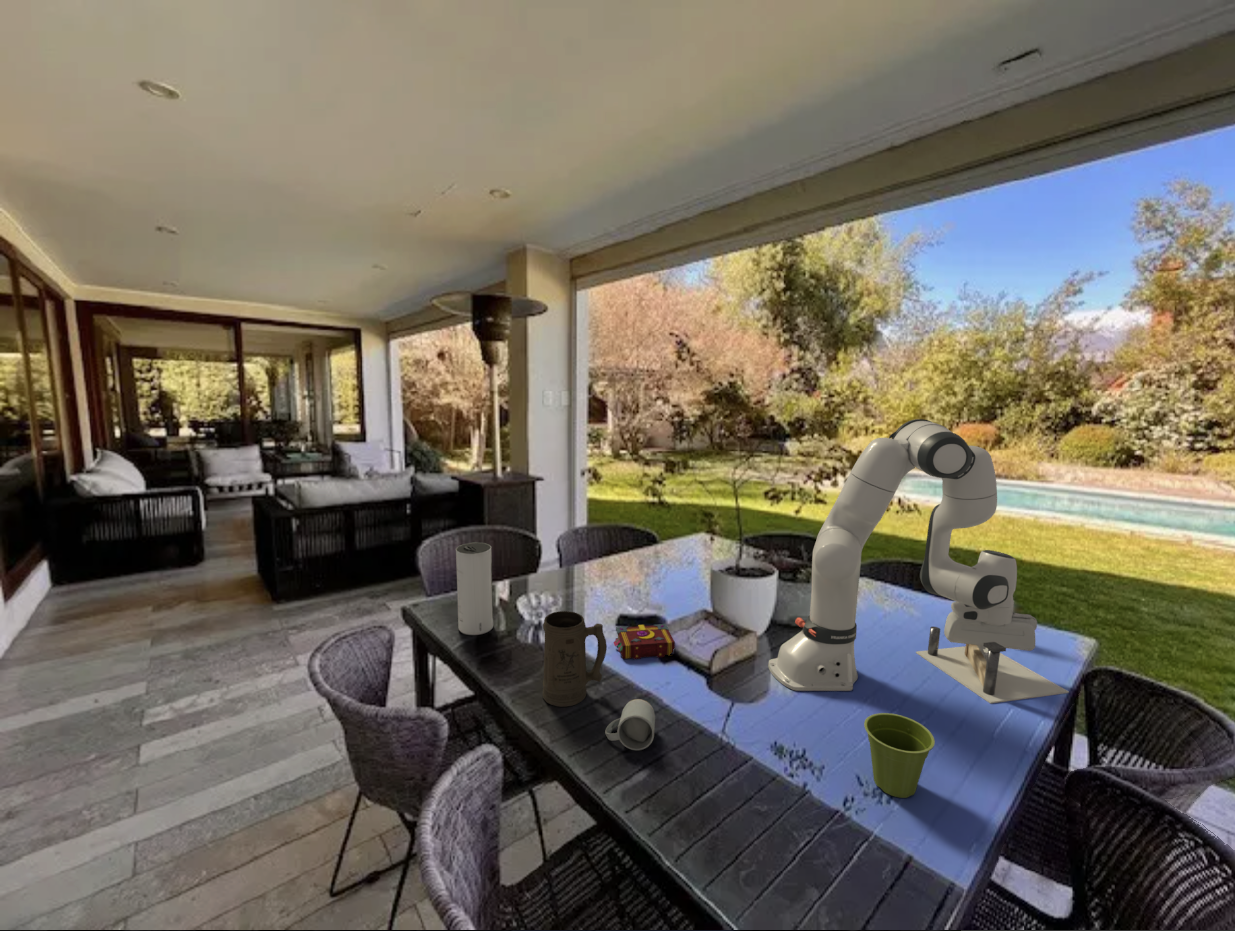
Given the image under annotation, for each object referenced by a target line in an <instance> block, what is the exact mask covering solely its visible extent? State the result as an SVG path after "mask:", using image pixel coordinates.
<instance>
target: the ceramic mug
mask: <svg viewBox="0 0 1235 931" xmlns="http://www.w3.org/2000/svg"><path fill="white" fill-rule="evenodd" d="M655 722H656V714H655V710H654V708H653V706H652V705H651V703H650V702H648V701H647V700H646V699H645V700H644V699H641V698H636V699H631V700H629V701H628V702H627V703H626V705H625V706H624V707H623V709H622V712H621V716H620V717H619V718H616V719H614V720H612V721H611V722H610V723H609V724H608V725H607V727H606V728H605V732H604V733H605V735H606V737H607V739H608V740H609V741H610V742H611V741H612V742H615V741H619V742H620V743H621V744H622V746H624V747H626V748H627V749H629V750H632V751H642V750H644V749H647V748H648V747H649V746H650V745H651V744H652V743H653V741H654V737H655V725H656V724H655ZM616 728H617V730H616V731H617V732H615V733H614V732H613V730H614V729H616ZM612 732H613V733H612Z"/></svg>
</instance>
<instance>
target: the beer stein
mask: <svg viewBox="0 0 1235 931" xmlns="http://www.w3.org/2000/svg"><path fill="white" fill-rule="evenodd" d="M542 628H543V631H544V644H543V645H544V648H543V649H544V651H543V652H544V653H543V655H544V656H543V679H542V686H543V688H542V698H543V700H544V701H545V702H546V703H547V704H549V705H552V706H554V707H560V708H561V707H562V708H563V707H572V706H575V705H578V704H579V703H582V702H583V700H585V699H586V696H587V686H586V685H587V684H588V682H590V681H595V682H598V683H599V682H601V680H602V678H603V677H602V676H603V675H602V673H601V667H602V664H604V661H605V659H606V655H607V645H608V644H607V639H606V636H605V633H604V632H603V630H604V629H603V628H604V624H601V623H595V624H593V625H592V626H586V623H585V618H584V616H583V615H581V614H580V613H578V612H575V611H568V610H561V611H559V610H558V611H554V612H551V613H549V614H548V615H546V616H545V617H544V620H543V625H542ZM589 636H594V637H595V638H596V640H597V641H596V642H597V651H596V658H595V660H594V663H593V667H592V669H591V670H590V671H589V672H588V670H587V661H586V656H587V655H586V652H587V651H586V650H587V649H586V639H587V638H588V637H589Z"/></svg>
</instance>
